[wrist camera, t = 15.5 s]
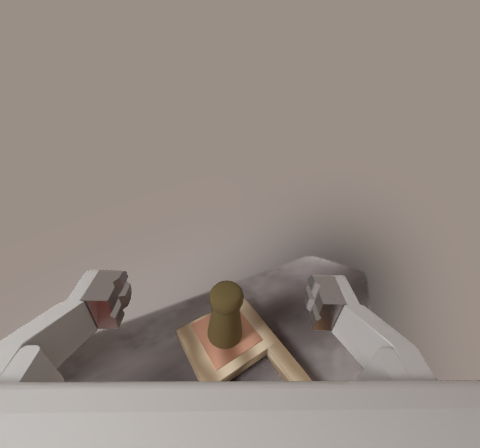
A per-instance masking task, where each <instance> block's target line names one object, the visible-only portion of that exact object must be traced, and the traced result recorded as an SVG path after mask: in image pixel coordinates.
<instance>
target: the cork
mask: <svg viewBox="0 0 480 448" xmlns="http://www.w3.org/2000/svg"><path fill="white" fill-rule="evenodd" d="M243 299H244V296H243V292H242V289H241V288H240V287H239V286H238V285H237V284H236V283H234V282H232V281H222V282H219V283H218V284H216V285H215V286H214V287H213V288H212V290H211V292H210V295H209V300H210V305H211V307H212V312H211V316H210V321H209V326H208V331H207V333H208V338H209V341H210V342H211V343H212V344H213V345H214V346H215V347H217V348H220V349H229V348H232V347H234V346H236V345H237V344H238V343H239V341H240V339H241V337H242V325H241V315H240V308H241V306H242V304H243Z"/></svg>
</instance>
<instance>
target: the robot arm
mask: <svg viewBox="0 0 480 448" xmlns="http://www.w3.org/2000/svg"><path fill="white" fill-rule="evenodd" d="M127 278H128V275H127V272H126V271H112V270H88V271H86V272H85V273H84V275H83V277H82V278H81V279H80V281H79V282H78V284H77V285H76V287H75V288H74V290H73V291H72V293H71V294H70V296H69V297H68V299H67V300H66V301H61V302H60V303H58V304H57V305H55V306H54V307H52V308H51V309H49V310H47V311H46V312H44V313H43V314H41V315H40V316H38V317H37V318H35V319H33V320H32V321H30V322H29V323H27V324H25V325H24V326H22V327H21V328H19V329H18V330H16V331H15V332H13V333H11V334H10V335H8V336H7V337H5V338H4V339H2V340H1V341H0V448H480V380H478V381H477V380H476V381H438V380H437V379H436V377H435V376H434V374H433V372H432V371H431V369H430V368H429V366H428V364H427V363H426V361H425V360H424V358H423V356H422V355H421V353H420V352H419V350H418V348H417V347H416V346H415V345H414V344H412V343H411V342H410V341H408V340H407V339H406V338H405V337H403V336H402V335H401V334H400V333H398V332H397V331H396V330H395V329H393V328H392V327H391V326H389V325H388V324H387V323H386V322H384V321H383V320H382V319H380V318H379V317H378V316H376V315H375V314H374V313H373V312H371V311H370V310H369V309H368V308H366V307H365V306H364V305H360V304H359V302H358V300H357V298H356V296H355V294H354V292H353V290H352V288H351V286H350V284H349V283H348V281H347V279H346V277H345V276H344V275H310V276H309V279H308V283H309V285H308V286H307V287H306V288H305V292H304V301H305V305H306V308H307V309H308V310H309V311H310V314H309V319H310V322H311V326H312V329H313V330H325V331H332V333H333V334H334V335H335V336H336V337H337V338H338V340H339V341H340V342H341V343H342V344H343V345H344V346H345V348H346V349H347V350H348V351H349V352H350V353H351V354H352V355H353V357H354V358H355V359H356V360H357V361H358V362H359V363H360V364H361V366H362V367H363V368H364V369H363V370H362V372H361V373H360V375H359V376H358V377H357V379H356V381H174V382H64V381H65V380H64V378H63V376H62V375H61V374H60V372H59V371H58V370H57V368H58V367H59V366H60V365H61V364H62V363H63V362H64V361H66V360H67V359H68V358H69V357H70V356H71V355H72V354H73V353H74V352H75V351H76V350H77V349H78V348H79V347H80V346H81V345H82V344H83V343H84V342H85V341H87V340H88V339H89V338H90V337H91V336H92V335H93V334H94V333H95V332H96V331H97V330H98V329H111V328H119V326H120V324H121V321H122V319H123V317H124V312H123V309H124V308H125V307H127V306H128V304H129V302H130V299H131V285H130V283H128V282H127Z"/></svg>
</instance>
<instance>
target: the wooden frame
mask: <svg viewBox="0 0 480 448" xmlns="http://www.w3.org/2000/svg"><path fill="white" fill-rule="evenodd" d="M240 315H241V325H242V337H241V339H240V341H239V343H238V344H237V345H236V346H234V347H232V348H229V349H220V348H217V347H215V346H214V345H213V344H212V343H211V342H210V341H209V338H208V333H207V331H208V326H209V321H210V316H211V312H210V313H208V314H206V315H204V316H202V317H200V318H198V319H196V320H194V321H193V322H191V323H189V324H187V325H185V326H183V327H181V328H179V329H177V330H176V331H177V337H178V340H179V342H180V344H181V346H182V348H183V350H184V352H185V354H186V356H187V358H188V360H189V362H190V364H191V366H192V368H193V370H194V372H195V375H196V377H197V379H198V381H231V380H232V379H233V378H235V377H236V376H238V375H239V374H240V373H242V372H243V371H245V370H246V369H247V368H249V367H250V366H252V365H253V364H255V363H256V362H257V361H259V360H260V359H262V358H263V357H264V356H267V357H268V359H269V360H270V361H271V363H272V364H273V365H274V367H275V368H276V370H277V371H278V372H279V374H280V375H281V376H282V378H283V379H284V380H285V381H312V380H311V378H310V377H309V376H308V375H307V374H306V372H305V371H304V370H303V369H302V367H301V366H300V365H299V364H298V363H297V361H296V360H295V359H294V358H293V356H292V355H291V354H290V353H289V352H288V350H287V349H286V348H285V347H284V345H283V344H282V343H281V342H280V341H279V339H278V338H277V337H276V336H275V334H274V333H273V332H272V331H271V330H270V328H269V327H268V326H267V325H266V323H265V322H264V321H263V320H262V319H261V317H260V316H259V315H258V314H257V312H256V311H255V310H254V309H253V308H252V306H251V305H250V304H249V303H248V301H247V300H246V299H245V298H244V299H243V304H242V306H241V308H240Z"/></svg>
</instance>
